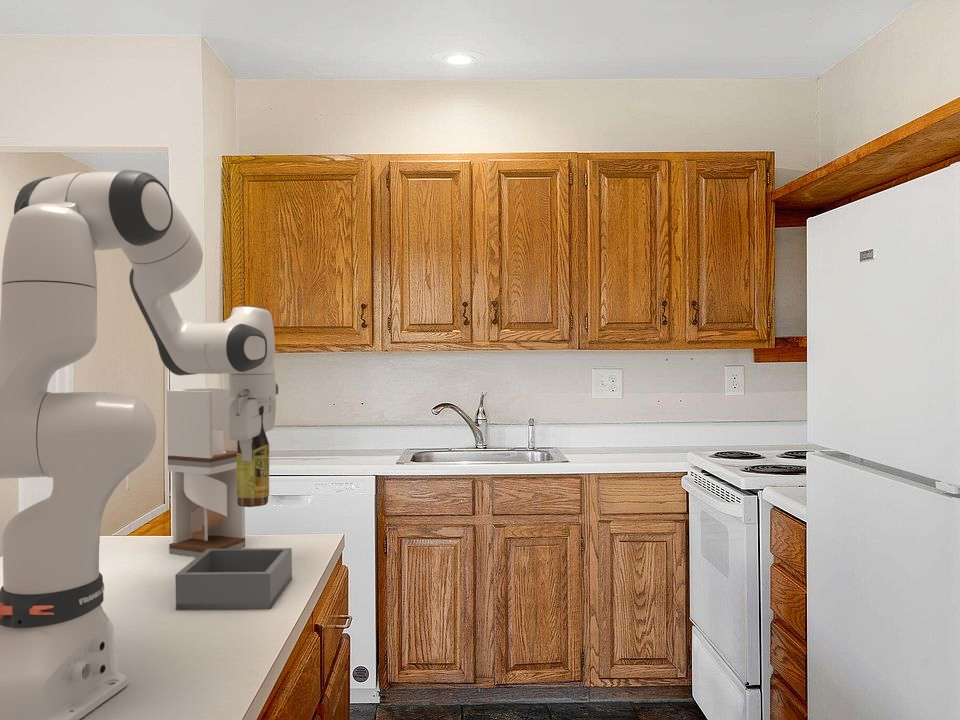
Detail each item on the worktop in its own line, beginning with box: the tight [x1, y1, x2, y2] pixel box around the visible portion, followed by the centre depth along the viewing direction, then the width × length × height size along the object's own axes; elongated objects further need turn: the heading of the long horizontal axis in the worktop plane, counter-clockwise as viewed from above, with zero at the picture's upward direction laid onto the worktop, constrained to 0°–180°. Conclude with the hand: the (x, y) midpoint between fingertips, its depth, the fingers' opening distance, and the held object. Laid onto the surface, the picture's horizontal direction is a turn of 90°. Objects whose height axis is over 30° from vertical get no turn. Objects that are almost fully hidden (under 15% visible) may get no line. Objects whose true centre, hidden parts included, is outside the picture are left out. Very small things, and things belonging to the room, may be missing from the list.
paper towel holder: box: [166, 387, 246, 558], centre depth 167 cm, size 11×11×35 cm
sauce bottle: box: [237, 406, 270, 508], centre depth 153 cm, size 6×6×20 cm
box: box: [174, 547, 293, 611], centre depth 139 cm, size 16×16×6 cm
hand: (253, 458), depth 153 cm, fingers closed on sauce bottle, 6 cm apart
